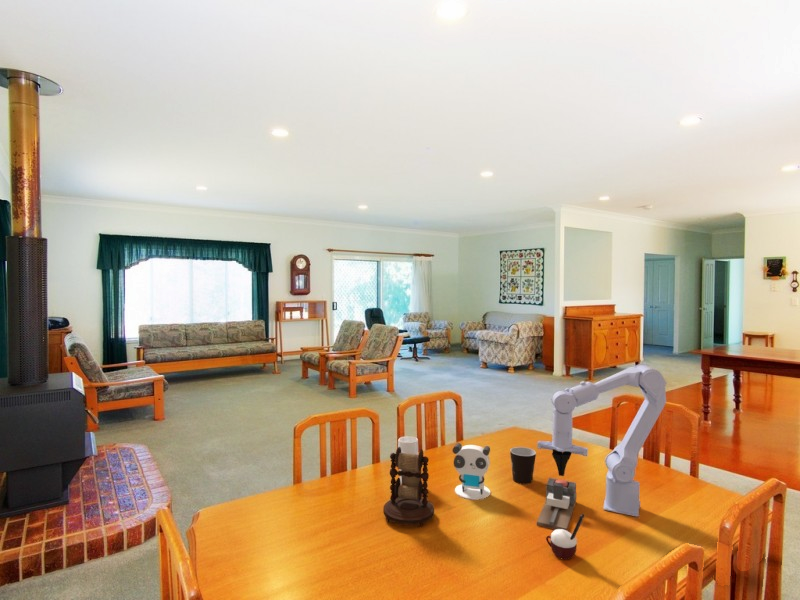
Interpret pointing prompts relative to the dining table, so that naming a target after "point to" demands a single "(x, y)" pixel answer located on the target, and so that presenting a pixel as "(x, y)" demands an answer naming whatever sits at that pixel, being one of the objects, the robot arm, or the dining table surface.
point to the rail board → (557, 508)
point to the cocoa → (564, 541)
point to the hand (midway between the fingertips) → (561, 474)
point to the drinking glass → (408, 446)
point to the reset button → (562, 482)
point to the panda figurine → (471, 470)
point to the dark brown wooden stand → (409, 490)
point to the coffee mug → (522, 464)
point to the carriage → (558, 497)
